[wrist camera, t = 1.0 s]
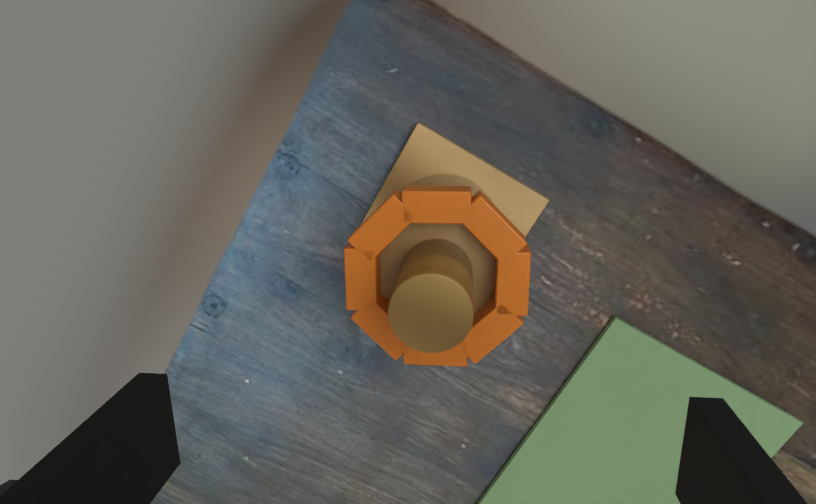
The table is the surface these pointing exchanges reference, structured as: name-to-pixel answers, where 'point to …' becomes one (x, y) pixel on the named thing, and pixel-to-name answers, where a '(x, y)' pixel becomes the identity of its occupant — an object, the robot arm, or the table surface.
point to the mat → (624, 426)
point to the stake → (444, 244)
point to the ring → (439, 209)
